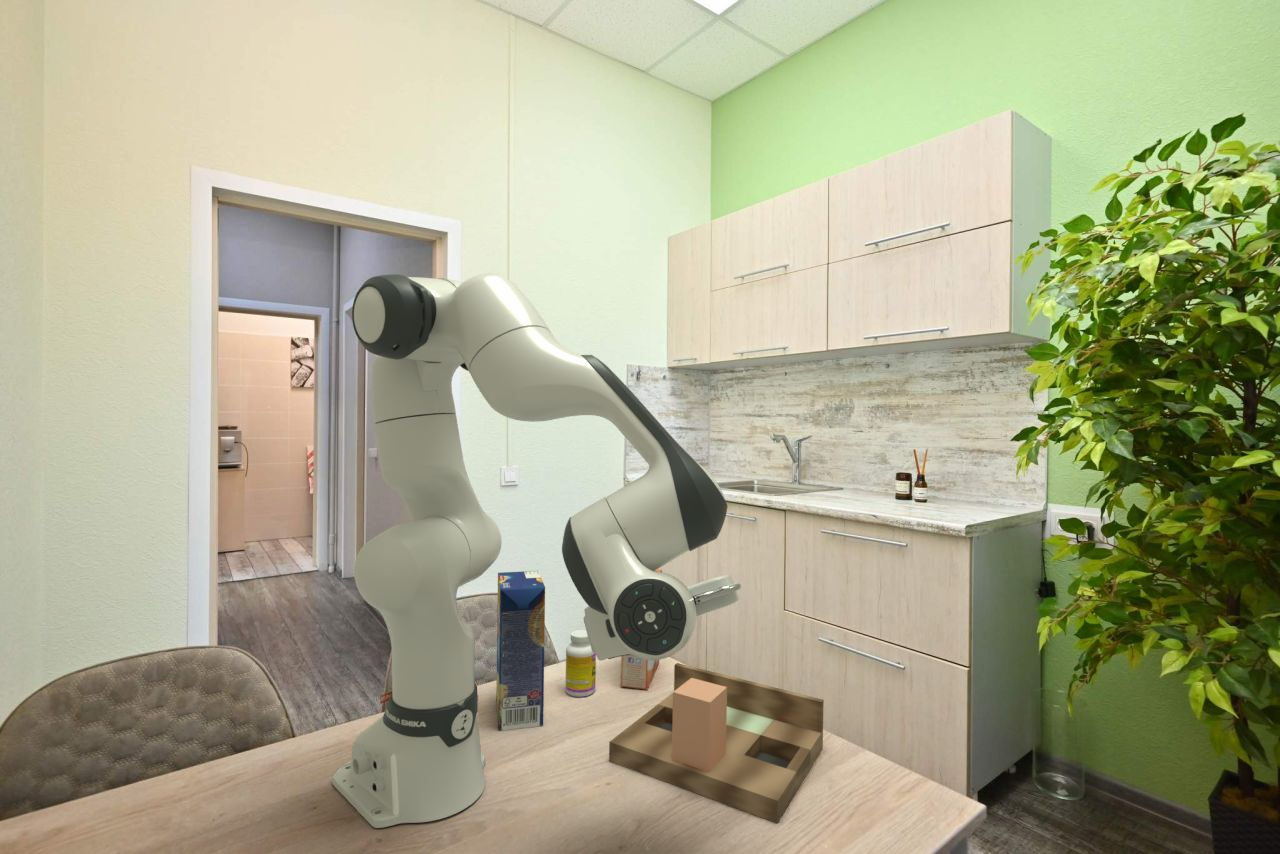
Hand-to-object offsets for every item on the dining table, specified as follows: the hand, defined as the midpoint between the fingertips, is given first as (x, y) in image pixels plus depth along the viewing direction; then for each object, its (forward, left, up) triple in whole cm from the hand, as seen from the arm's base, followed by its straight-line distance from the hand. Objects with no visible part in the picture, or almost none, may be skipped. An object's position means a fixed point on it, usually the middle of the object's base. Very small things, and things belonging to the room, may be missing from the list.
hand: (664, 609), depth 86 cm
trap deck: (+2, +14, -26) cm, 30 cm away
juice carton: (-34, +7, -27) cm, 44 cm away
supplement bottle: (-30, +20, -27) cm, 45 cm away
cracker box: (-24, +33, -27) cm, 49 cm away
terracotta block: (+2, +7, -23) cm, 25 cm away
